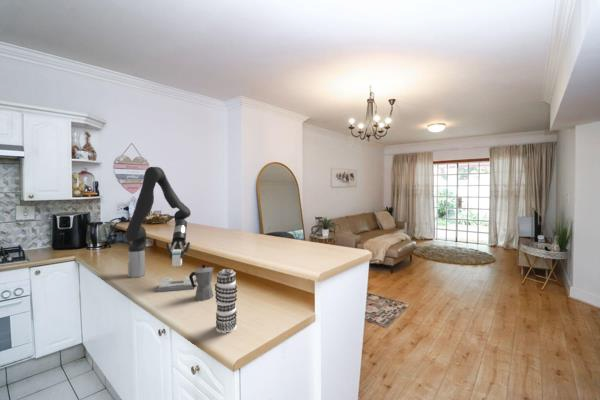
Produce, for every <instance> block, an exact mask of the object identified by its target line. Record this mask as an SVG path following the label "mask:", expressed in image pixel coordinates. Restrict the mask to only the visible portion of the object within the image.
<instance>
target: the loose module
mask: <svg viewBox="0 0 600 400" xmlns="http://www.w3.org/2000/svg"><path fill="white" fill-rule="evenodd" d="M180 256H181V249H175V250H173V251H172V259H171V261H172V263H171V265H172V267H181V266H182V265H183V258H182V259H181V258H180Z"/></svg>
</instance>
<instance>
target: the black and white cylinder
mask: <svg viewBox="0 0 600 400" xmlns="http://www.w3.org/2000/svg"><path fill="white" fill-rule="evenodd" d="M236 274H237V272H236V271H234V270H233V269H231V268H224V269H220V270H219V271H218V272H217V273H216V275H215V276H216V282H215V284H214V291H215V304H216V307H217V308H216V313H215V316H216V317H215V319H216V321H215V325H216V326H215V329H216V332H217V333H219V332H222V333H221V334H227V333H226V332H229V333H231V331H232V332H234V331H236V329H237V327H238V326H237V325H238V323H237V322H238V319H237V313H238V312H237V306H236V302H237V300H238V298H237V297H238V296H237V295H238V294H237V293H238V290H237V289H238V286H237V285H236V281H237V280H236ZM233 330H234V331H233Z"/></svg>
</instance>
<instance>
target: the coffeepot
mask: <svg viewBox="0 0 600 400" xmlns="http://www.w3.org/2000/svg"><path fill="white" fill-rule="evenodd" d="M201 266H202V267H200V268H197V269H195V270H194V271H192V272H191V273H190V275H188V276H189V278H190V281H191V284H192V286H193V287H195V288H196V290H195V299H196V300H197V301H207V300H210V299H212V298H213V297H214V293H213V287H212V284H211V282H212V279H213V273H214V269H215V267H214V266H213V267H211V266H210V267H206V264H202V265H201ZM193 276H194V277H195V280H196V281H197V282H196V285H194V281H193Z"/></svg>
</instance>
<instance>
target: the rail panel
mask: <svg viewBox="0 0 600 400" xmlns="http://www.w3.org/2000/svg"><path fill="white" fill-rule="evenodd" d="M189 276H190V275H185V277H184V279H183V280H174V281H173V278H172V276H167V277H162V278H161V280H159V285H158V287H157V288H156V293H163V292H164V293H165V292H174V291H186V290H187V291H188V290H195V288H196V287H193V286H192V284H191V281H190V278H189ZM193 281H194V285H197V281H196V276H195V275H194V276H193Z"/></svg>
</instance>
